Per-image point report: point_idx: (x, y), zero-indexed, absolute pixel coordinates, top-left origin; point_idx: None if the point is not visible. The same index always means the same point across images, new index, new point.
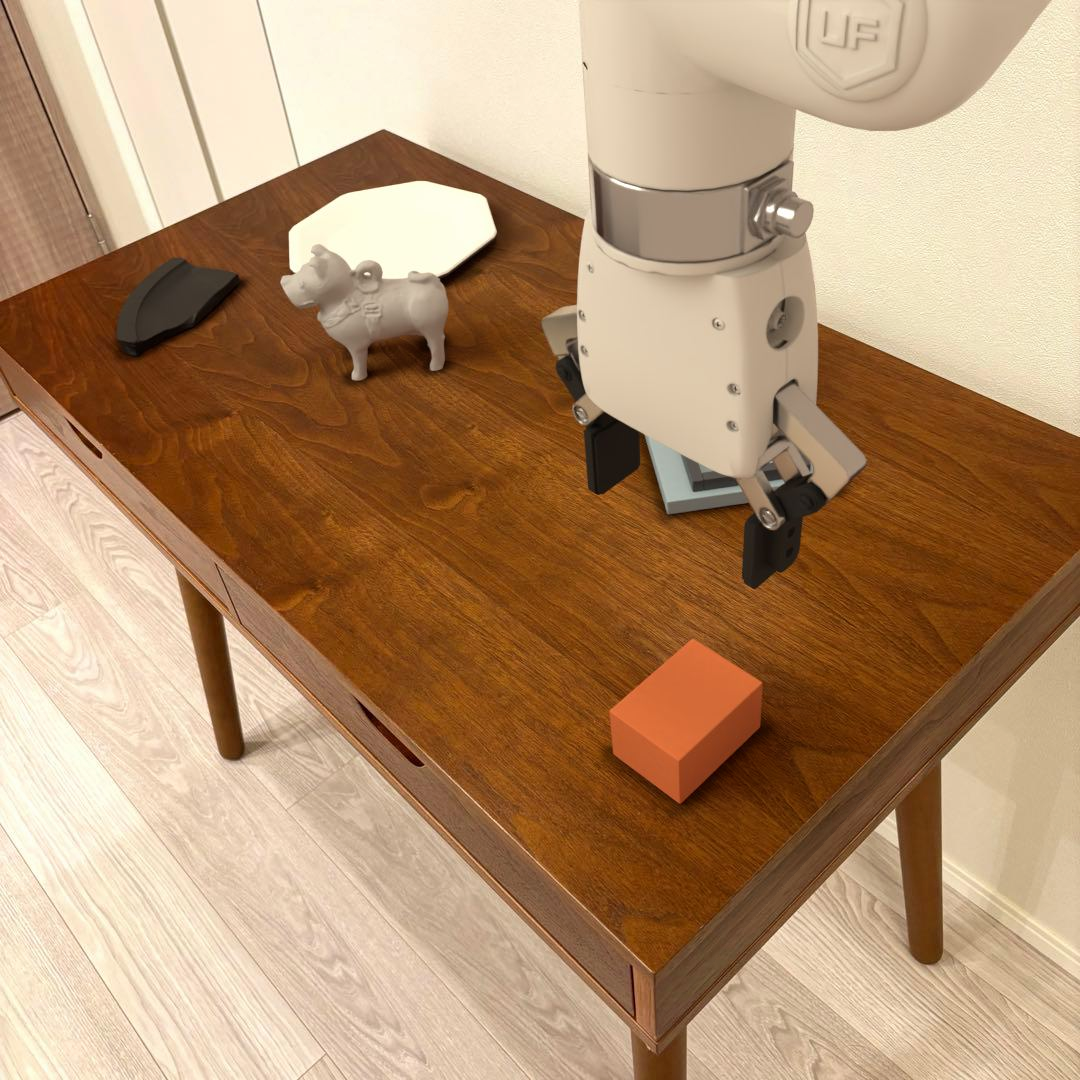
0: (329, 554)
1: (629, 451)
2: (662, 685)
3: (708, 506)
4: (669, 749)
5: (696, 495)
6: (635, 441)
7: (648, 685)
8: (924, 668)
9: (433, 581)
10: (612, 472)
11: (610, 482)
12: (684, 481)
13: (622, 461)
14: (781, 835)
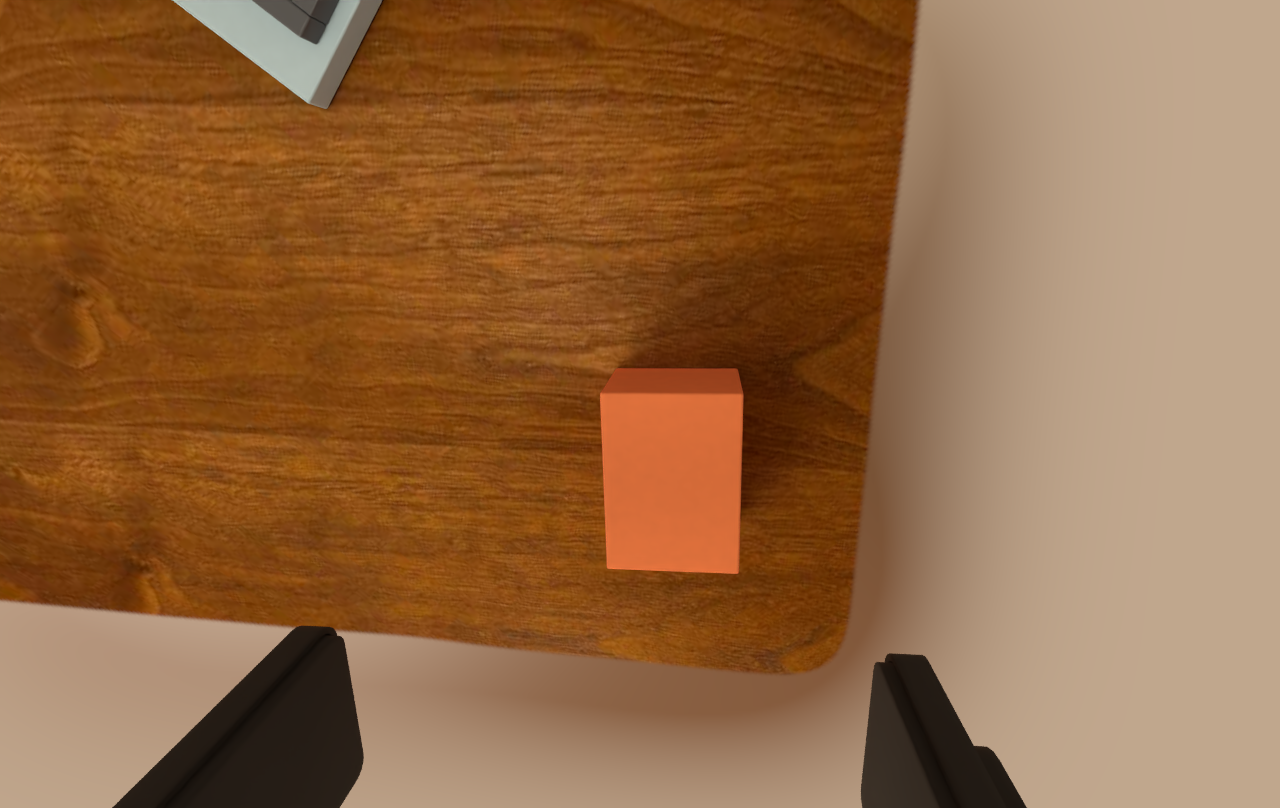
0: (94, 519)
1: (294, 732)
2: (631, 491)
3: (358, 40)
4: (716, 568)
5: (328, 48)
6: (273, 723)
7: (615, 504)
8: (870, 100)
9: (225, 464)
10: (328, 768)
11: (347, 749)
12: (284, 31)
13: (311, 742)
14: (859, 481)
